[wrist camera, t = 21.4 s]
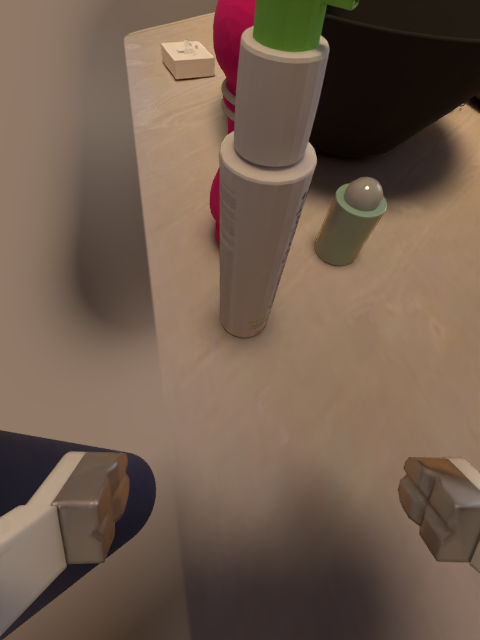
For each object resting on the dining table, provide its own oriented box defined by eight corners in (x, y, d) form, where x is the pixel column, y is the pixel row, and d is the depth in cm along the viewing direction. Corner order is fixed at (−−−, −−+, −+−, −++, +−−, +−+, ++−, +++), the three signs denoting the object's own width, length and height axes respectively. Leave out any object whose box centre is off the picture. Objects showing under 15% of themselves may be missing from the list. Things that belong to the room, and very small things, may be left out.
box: (252, 46, 56) (254, 25, 53) (279, 69, 51) (283, 47, 49) (156, 52, 51) (153, 29, 48) (176, 79, 46) (173, 54, 43)
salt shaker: (312, 260, 29) (342, 192, 22) (316, 230, 31) (344, 159, 24) (355, 269, 29) (400, 203, 22) (356, 238, 31) (397, 169, 24)
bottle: (242, 347, 24) (303, 7, 6) (210, 314, 25) (186, -41, 8) (276, 319, 25) (402, -17, 8) (245, 289, 27) (291, -53, 9)
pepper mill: (289, 233, 31) (379, -80, 13) (253, 273, 28) (308, -62, 10) (236, 205, 32) (254, -106, 15) (197, 240, 29) (162, -97, 12)
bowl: (243, 63, 51) (250, -80, 38) (436, 92, 50) (513, -43, 36) (195, 182, 34) (178, -2, 20) (487, 231, 33) (667, 71, 19)
